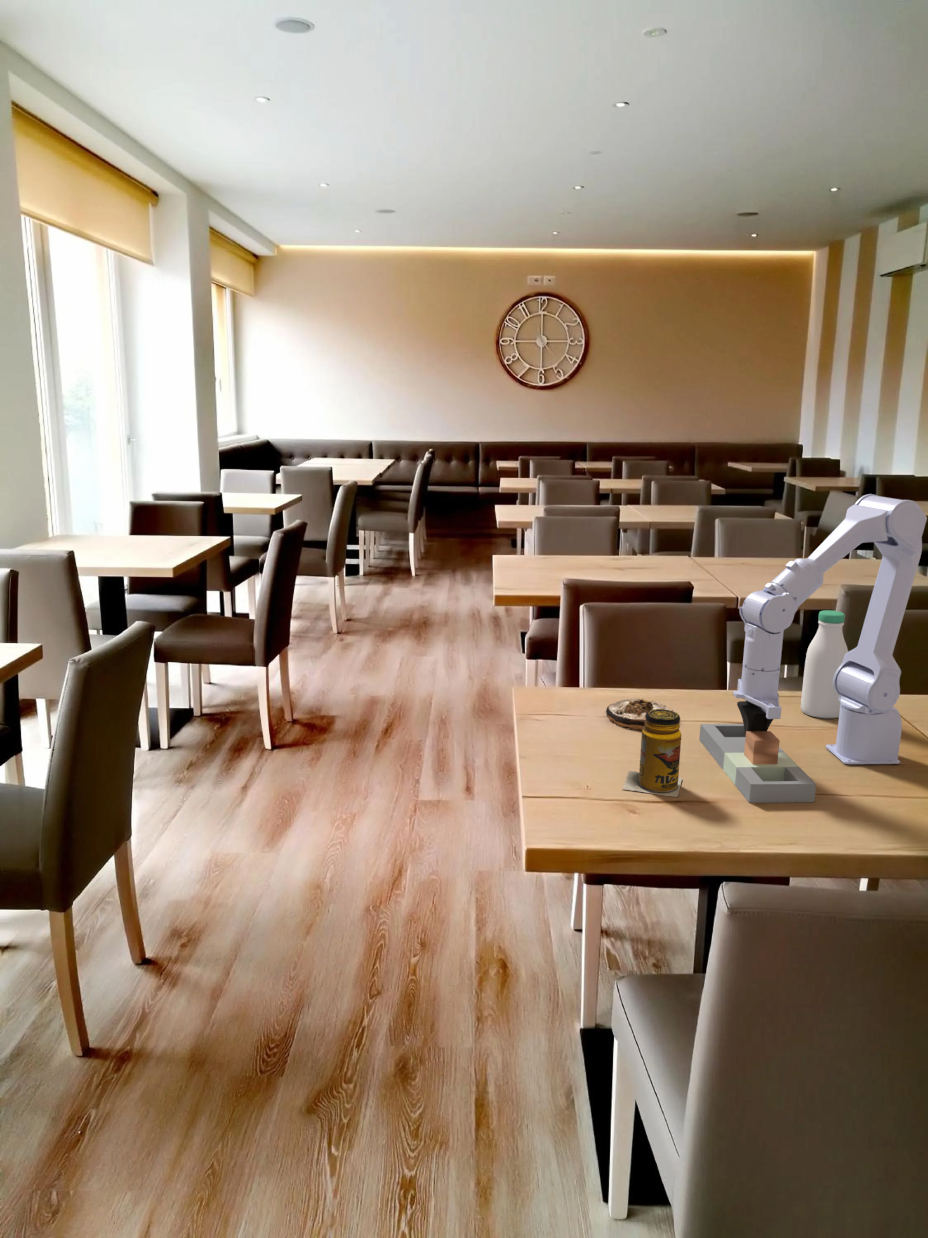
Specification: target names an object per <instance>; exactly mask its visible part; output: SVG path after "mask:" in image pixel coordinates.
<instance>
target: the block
mask: <svg viewBox="0 0 928 1238" xmlns="http://www.w3.org/2000/svg"><path fill="white" fill-rule="evenodd" d="M779 747H780V739H779V737H777V736H776V735H775V734H774V733H773V732H772V731H770V730H769V731H768V730H767V731H746V738H745V749H744V755H745V756H746V757H747V759H748V760H749V761H750V762H751V763H752V764H777V762H778V752H779Z"/></svg>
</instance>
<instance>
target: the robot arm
mask: <svg viewBox="0 0 928 1238" xmlns="http://www.w3.org/2000/svg"><path fill="white" fill-rule="evenodd" d="M927 521H928V517H927V516H926V514H925V512H924V511H923V509H922V507H921V506H920V504H918V503H917V502H916V501H915V500H910V499H900V498H892V497H886V496H880V495H877V494H872V493H868V494H865V495H861V497H860V498H858V499H857V500H856V502H855V503H854V504H852V505H851V506H849V507H848V508H847V510H846V514H845V518H844V519H843V520H842V522H840V523H839V524H838V526H837V527H836V528H835V529H834V530H833V531H832V532H831V533H829V535H828V536H827V537H826V538H825V539H824V540H823V542H822V543H820V545H819V546H817V548H815V550H814V551H812V553H811V554H810V555H809V556H808V557H806V558H796V559H794V560H789V561H788V562H787V563H786V564H785V567H786V568H784V570H782V571H781V572H780V573H779V574H778V575H777V576H776V577H775V578H773V580H771V581H770V582H767V583H766V584H765V585H764V588H763V589H762V590H760V589H759V590H756V591H755V590H754V591H753V592H752V593H750V594H749V595H747V597H746V598H745V599H744V600H743V604H742V606H740V607H739V616H740V618H741V620H742V621H743V623H744V629H743V630H744V632H745V634H744V635H745V636H744V637H745V638H744V644H743V645H744V647H743V658H742V659H743V660H742V671H741V678H738V679H737V689H736V690H733V692H732V696H734V698H736V699H742V700H743V701H742V700H741V701H737V702H736V705H737V708H738V710H739V712H740V713H739V714H740V715H741V720H742V724H744V730H745V738H746V731H768V730H769V727H770V726H771V724H772V723H773V722H774V720H781V718H782V717H781V716H782V706H781V705H780V695H779V693H778V690H779V682H780V681H779V680H780V674H781V673H780V671H781V662H782V651H783V640H784V631H785V630H786V629H788V628H789V627H790V626H791V625H792V623H793V620H794V617H795V615H796V612H797V611H798V608H799V607H801V605H802V604H803V603H804V602H805V601H806V600H807V599H808V598H810V597H811V596H812V595H813V594H814V593H815V592H816V591H817V590H818V589H819V588H821V586H823V584H824V574H825V573H826V572H827V571H828V570H830V569H831V568H832V567H834V565H836V564H837V563H839V562H840V561H841V560H842V559H844V558H845V557H846V556H847V555H849V554H850V553H851V552H852V551H853V550H855V549H856V548H857V547H858V546H860V545H861V544H863V543H865V544H866V543H874V545H875V547H876V548H877V549H878V551H879V552H880V554H881V555H882V557H881V560H880V565H879V568H878V572H877V575H876V579H875V581H874V582H875V583H874V586H873V589H872V593H871V597H870V599H869V603H868V607H867V611H866V614H865V618H864V621H863V625H862V629H861V633H860V637H859V640H858V643H857V646H856V647H854V648H853V649H851V650H848V652H847V653H846V654H845V655H844V659H843V662H842V664H841V665H840V667H839V668H838V669H837V671H836V672H835V675H834V678H833V687H834V689H835V691H836V692H837V693H838V694H839V699H838V700H839V701H840V702H841V704H840V713H839V717H838V724H837V732H836V740H835V744H825V748H826V749H827V750H828V751H830V752H831V754H833V755H834V756H835V757H836V758H838V759H839V760H840V761H841V763H843V764H845V765H894V764H895V765H899V764H900V763H901V760H899V752H900V744H901V737H902V731H903V730H902V728H903V723H902V718H901V717H902V716H901V714H900V712H899V710H898V709H897V708H896V707H894V706H895V705H896V704H897V702H898V700H899V698H900V693H901V687H900V679H901V675H902V670H901V668H900V666H899V665H898V663H897V662H896V659H895V657H894V656H893V654H894V650H895V646H896V645H897V644H896V643H897V640H898V636H899V632H900V630H901V625H902V623H903V619H904V615H905V613H906V608H907V604H908V601H909V599H910V595H911V591H912V587H913V584H914V581H915V577H916V574H917V570H918V567H919V563H920V559H921V558H922V557H921V555H922V551H923V538H922V537H923V534H924V530H925V527H926V524H927Z"/></svg>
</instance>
